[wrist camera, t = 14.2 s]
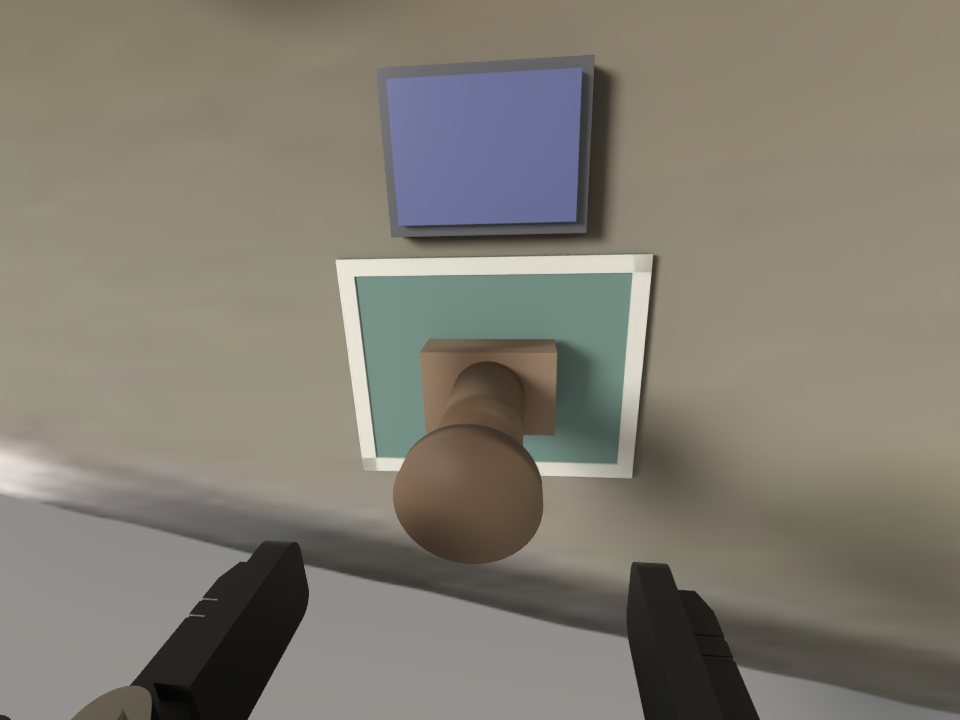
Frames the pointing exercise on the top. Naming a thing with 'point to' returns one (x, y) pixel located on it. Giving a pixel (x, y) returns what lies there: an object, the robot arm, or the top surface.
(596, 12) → the top surface
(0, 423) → the top surface
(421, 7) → the top surface
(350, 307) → the green white framed board
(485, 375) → the stamp
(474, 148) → the ink pad
